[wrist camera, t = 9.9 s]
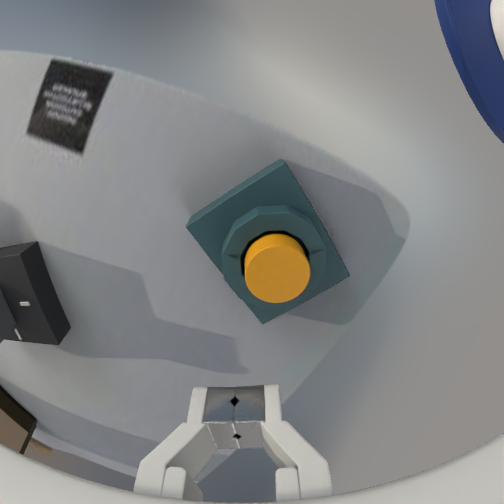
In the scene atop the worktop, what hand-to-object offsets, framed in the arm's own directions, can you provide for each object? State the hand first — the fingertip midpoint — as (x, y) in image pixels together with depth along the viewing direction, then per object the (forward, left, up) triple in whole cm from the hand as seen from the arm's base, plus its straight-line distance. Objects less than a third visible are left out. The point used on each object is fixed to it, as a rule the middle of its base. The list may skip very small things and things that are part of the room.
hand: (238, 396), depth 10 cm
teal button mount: (-2, 0, -15) cm, 15 cm away
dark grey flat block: (+25, +3, -15) cm, 29 cm away
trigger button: (-2, 0, -11) cm, 11 cm away
